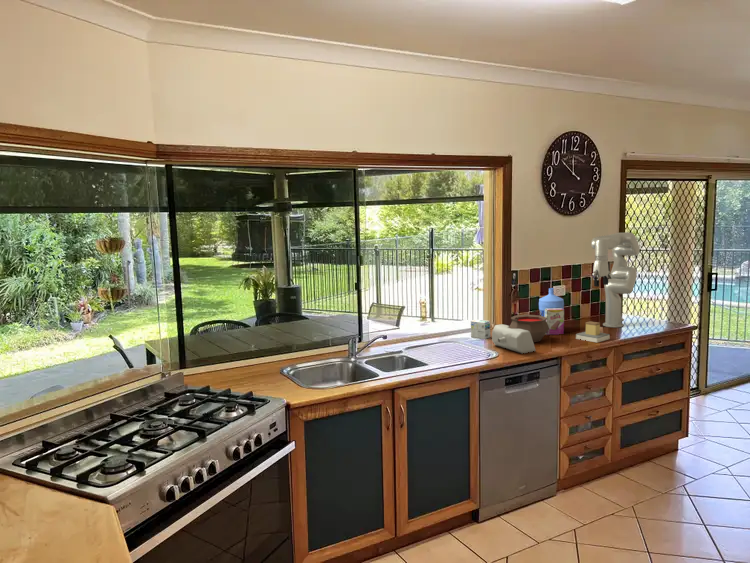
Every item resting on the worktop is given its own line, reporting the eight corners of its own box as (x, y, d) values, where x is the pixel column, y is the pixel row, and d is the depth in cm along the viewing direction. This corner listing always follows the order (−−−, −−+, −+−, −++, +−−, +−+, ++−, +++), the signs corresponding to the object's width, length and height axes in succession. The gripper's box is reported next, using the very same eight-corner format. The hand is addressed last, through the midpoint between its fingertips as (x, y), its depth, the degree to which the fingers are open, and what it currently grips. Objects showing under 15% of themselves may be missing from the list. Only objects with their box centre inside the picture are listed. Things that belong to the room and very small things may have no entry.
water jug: (558, 327, 356) (558, 286, 352) (567, 332, 340) (567, 289, 337) (535, 328, 355) (535, 287, 352) (543, 333, 340) (543, 290, 336)
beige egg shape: (597, 334, 333) (597, 326, 332) (604, 335, 329) (604, 327, 328) (592, 335, 330) (592, 327, 330) (599, 336, 326) (600, 328, 326)
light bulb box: (490, 337, 336) (490, 320, 334) (485, 339, 331) (484, 322, 330) (476, 335, 343) (475, 319, 342) (470, 337, 338) (470, 320, 337)
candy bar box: (546, 335, 335) (546, 309, 333) (544, 333, 340) (544, 308, 338) (564, 334, 335) (564, 309, 333) (562, 333, 340) (562, 307, 338)
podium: (588, 335, 330) (588, 330, 330) (609, 339, 319) (609, 334, 319) (575, 338, 323) (575, 333, 323) (596, 342, 312) (597, 337, 311)
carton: (589, 332, 325) (590, 321, 324) (599, 334, 319) (600, 322, 318) (585, 333, 322) (585, 322, 321) (595, 335, 317) (595, 323, 316)
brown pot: (531, 346, 309) (531, 319, 307) (500, 339, 329) (500, 313, 327) (557, 339, 322) (557, 313, 320) (526, 333, 342) (526, 308, 340)
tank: (485, 346, 313) (485, 326, 311) (506, 343, 320) (506, 322, 318) (513, 356, 290) (513, 333, 289) (536, 351, 297) (536, 330, 296)
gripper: (603, 257, 338) (603, 283, 340) (587, 259, 328) (587, 286, 331) (614, 257, 332) (614, 284, 334) (598, 259, 322) (598, 287, 324)
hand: (601, 285), depth 332 cm, fingers open, 9 cm apart
